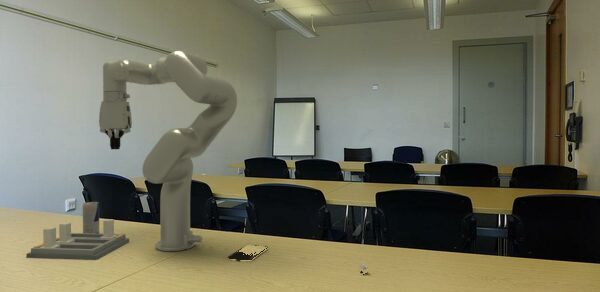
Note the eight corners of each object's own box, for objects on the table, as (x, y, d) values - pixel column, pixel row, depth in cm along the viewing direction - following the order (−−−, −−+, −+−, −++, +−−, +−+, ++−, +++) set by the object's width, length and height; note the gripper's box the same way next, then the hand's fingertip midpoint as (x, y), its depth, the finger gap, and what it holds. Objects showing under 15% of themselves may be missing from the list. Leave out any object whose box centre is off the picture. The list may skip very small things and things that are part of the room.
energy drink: (102, 233, 151) (102, 202, 151) (93, 237, 146) (93, 204, 145) (88, 233, 151) (88, 201, 151) (79, 237, 146) (79, 204, 146)
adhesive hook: (357, 274, 112) (357, 262, 111) (365, 272, 113) (365, 261, 112) (363, 277, 109) (363, 266, 109) (371, 276, 110) (371, 264, 110)
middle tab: (74, 243, 133) (74, 222, 133) (68, 246, 130) (68, 224, 129) (62, 243, 133) (61, 222, 133) (55, 246, 130) (55, 224, 130)
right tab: (117, 239, 139) (117, 219, 138) (112, 242, 135) (112, 221, 135) (105, 239, 139) (105, 218, 139) (99, 241, 136) (99, 221, 135)
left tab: (60, 249, 127) (60, 227, 126) (53, 252, 123) (52, 229, 123) (47, 248, 127) (46, 226, 127) (39, 252, 123) (39, 229, 123)
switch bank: (129, 241, 140) (129, 233, 140) (96, 259, 120) (96, 250, 120) (68, 240, 142) (68, 231, 142) (26, 257, 122) (26, 247, 122)
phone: (269, 246, 133) (250, 259, 119) (269, 249, 134) (250, 263, 119) (247, 244, 136) (226, 257, 122) (247, 247, 136) (226, 260, 122)
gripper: (140, 98, 146) (140, 149, 147) (100, 98, 147) (100, 148, 148) (130, 96, 139) (130, 149, 140) (88, 96, 140) (88, 149, 141)
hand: (115, 149), depth 144 cm, fingers closed
